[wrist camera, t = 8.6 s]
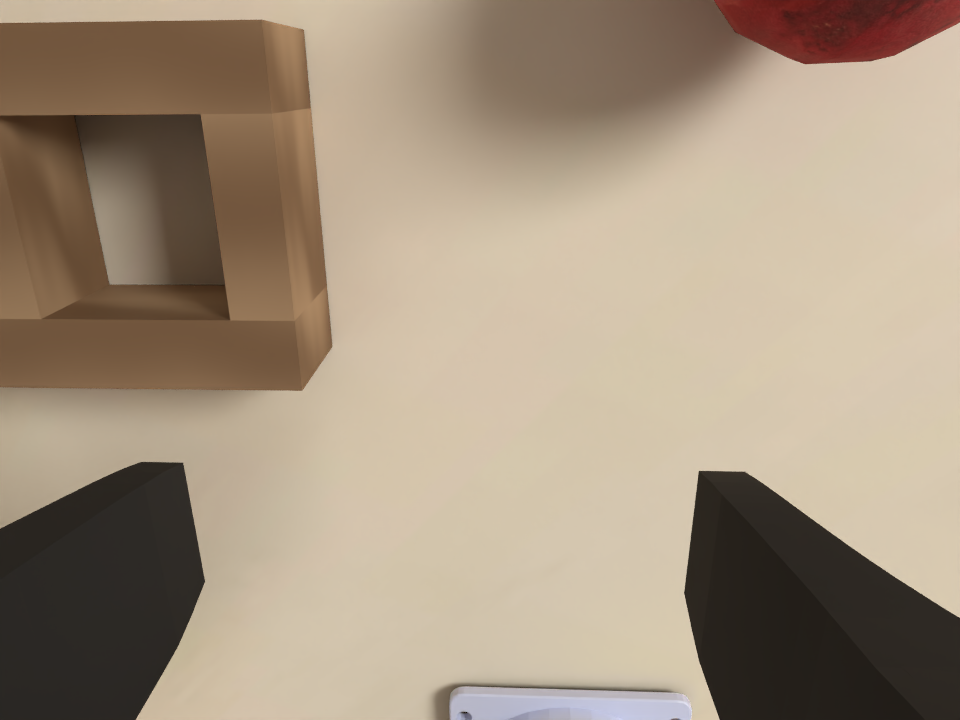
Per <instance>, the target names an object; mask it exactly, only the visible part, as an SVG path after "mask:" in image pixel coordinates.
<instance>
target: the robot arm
mask: <svg viewBox="0 0 960 720" xmlns="http://www.w3.org/2000/svg"><path fill="white" fill-rule="evenodd" d="M204 583H205V579H204V574H203V568H202V563H201V557H200V552H199V547H198V541H197V536H196V530H195V525H194V519H193V514H192V509H191V503H190V498H189V492H188V487H187V482H186V476H185V471H184V465H183V463H166V462H140V463H137V464H135V465H132V466H129V467H127V468H124V469H122V470H119V471H117V472H115V473H113V474H110V475H108V476H106V477H104V478H102V479H100V480H97V481H95V482H93V483H91V484H89V485H87V486H85V487H83V488H81V489H79V490H77V491H75V492H73V493H71V494H69V495H67V496H65V497H63V498H61V499H59V500H57V501H55V502H53V503H51V504H49V505H47V506H45V507H43V508H41V509H39V510H37V511H35V512H33V513H31V514H29V515H27V516H25V517H23V518H21V519H19V520H17V521H15V522H13V523H11V524H9V525H7V526H5V527H3V528H1V529H0V720H136V718H137V716H138V715H139V713H140V711H141V710H142V708H143V706H144V704H145V703H146V701H147V699H148V698H149V696H150V694H151V693H152V691H153V689H154V687H155V686H156V684H157V682H158V680H159V679H160V677H161V675H162V674H163V672H164V670H165V668H166V667H167V665H168V663H169V661H170V660H171V658H172V656H173V654H174V652H175V651H176V649H177V647H178V645H179V643H180V641H181V638H182V636H183V634H184V631H185V629H186V627H187V625H188V622H189V620H190V618H191V615H192V613H193V610H194V608H195V605H196V603H197V600H198V598H199V595H200V593H201V590H202V588H203V585H204ZM684 594H685V599H686V603H687V608H688V613H689V618H690V622H691V627H692V632H693V636H694V640H695V645H696V649H697V653H698V658H699V662H700V665H701V668H702V670H703V673H704V676H705V679H706V682H707V685H708V688H709V691H710V693H711V696H712V699H713V702H714V705H715V707H716V710H717V713H718V716H719V719H720V720H960V618H959V617H957V616H955V615H954V614H952V613H950V612H949V611H947V610H946V609H944V608H942V607H941V606H939V605H938V604H936V603H934V602H933V601H931V600H930V599H928V598H927V597H925V596H923V595H922V594H920V593H919V592H917V591H916V590H914V589H912V588H911V587H909V586H908V585H906V584H905V583H903V582H901V581H900V580H898V579H897V578H895V577H894V576H892V575H891V574H889V573H888V572H886V571H885V570H883V569H882V568H880V567H879V566H877V565H876V564H874V563H873V562H871V561H870V560H868V559H867V558H866V557H864V556H863V555H861V554H860V553H858V552H857V551H855V550H854V549H853V548H851V547H850V546H848V545H847V544H846V543H844V542H843V541H841V540H840V539H838V538H837V537H836V536H834V535H833V534H831V533H830V532H829V531H827V530H826V529H825V528H823V527H822V526H820V525H819V524H818V523H816V522H815V521H814V520H812V519H811V518H809V517H808V516H807V515H805V514H804V513H803V512H801V511H800V510H799V509H797V508H796V507H794V506H793V505H792V504H790V503H789V502H788V501H786V500H785V499H784V498H782V497H781V496H779V495H778V494H777V493H775V492H774V491H773V490H771V489H770V488H768V487H767V486H765V485H764V484H763V483H761V482H760V481H758V480H757V479H755V478H754V477H752V476H750V475H749V474H747V473H746V472H725V471H699V475H698V483H697V492H696V500H695V508H694V517H693V525H692V533H691V542H690V550H689V558H688V567H687V575H686V583H685V592H684ZM463 711H465V712H468V713H461V712H463ZM691 716H692V708H691V704H690V701H689V699H688V698H687V696H685V695H683V694H680V693H669V692H636V691H602V690H569V689H536V688H503V687H470V686H463V687H458V688H456V689H454V690H453V691H452V692H451V695H450V701H449V717H450V720H671V719H674V718H678V719H676V720H691Z"/></svg>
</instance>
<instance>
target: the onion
mask: <svg viewBox="0 0 960 720" xmlns="http://www.w3.org/2000/svg"><path fill="white" fill-rule="evenodd" d="M714 1H715V3H716V4H717V6H718V7H719V9H720V10H721V12H722V13H723V15H724V16H725V18H726V19H727V21H728V22H729V24H730V25H731V27H732V28H733V30H734V31H735V32H736V33H738V34H740V35H742V36H744V37H746V38H748V39H750V40H752V41H754V42H757V43H759V44H761V45H763V46H765V47H767V48H769V49H771V50H773V51H775V52H777V53H779V54H781V55H783V56H785V57H787V58H790V59H792V60H795V61H798V62H800V63H803V64H819V63H842V62H864V61H873V60H878V59H882V58H886V57H890V56H894V55H896V54H898V53H900V52H902V51H904V50H906V49H908V48H910V47H912V46H914V45H916V44H918V43H920V42H922V41H924V40H926V39H928V38H930V37H932V36H934V35H936V34H938V33H940V32H942V31H944V30H946V29H948V28H950V27H952V26H954V25H956V24H958V23H959V22H960V0H714Z"/></svg>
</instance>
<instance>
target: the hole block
mask: <svg viewBox="0 0 960 720" xmlns="http://www.w3.org/2000/svg"><path fill="white" fill-rule="evenodd" d="M145 114H201V120H202V127H203V134H204V141H205V148H206V155H207V162H208V169H209V176H210V183H211V190H212V197H213V204H214V210H215V217H216V224H217V231H218V238H219V245H220V252H221V259H222V266H223V273H224V280H225V285H109V281H108V276H107V272H106V267H105V262H104V257H103V252H102V247H101V243H100V238H99V233H98V228H97V223H96V218H95V213H94V209H93V204H92V199H91V194H90V189H89V184H88V180H87V175H86V170H85V165H84V160H83V155H82V150H81V146H80V141H79V136H78V131H77V126H76V121H75V117H74V115H145ZM331 348H332V338H331V327H330V316H329V305H328V294H327V283H326V272H325V260H324V249H323V238H322V227H321V216H320V205H319V194H318V183H317V172H316V161H315V150H314V139H313V128H312V117H311V105H310V94H309V83H308V72H307V61H306V50H305V39H304V30H303V29H298V28H294V27H290V26H286V25H281V24H277V23H273V22H269V21H264V20H211V21H134V22H57V23H0V387H28V388H117V389H206V390H295V391H302V390H303V389H304V387H305V386H306V384H307V383H308V381H309V380H310V378H311V377H312V376H313V374H314V373H315V371H316V370H317V368H318V367H319V365H320V364H321V362H322V361H323V359H324V358H325V357H326V355H327V354H328V352H329V351H330V349H331Z"/></svg>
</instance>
